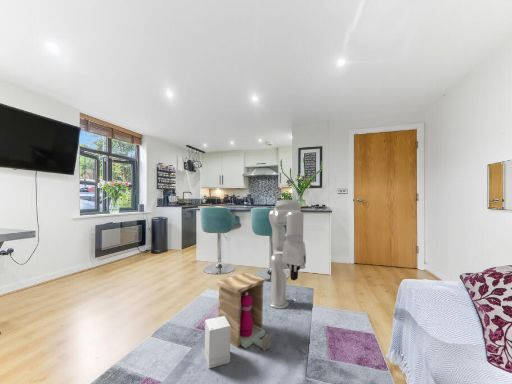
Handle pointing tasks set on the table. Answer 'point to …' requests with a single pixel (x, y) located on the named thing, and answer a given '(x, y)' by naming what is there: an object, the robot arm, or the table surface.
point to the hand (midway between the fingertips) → (294, 279)
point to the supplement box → (217, 341)
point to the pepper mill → (246, 316)
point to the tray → (256, 339)
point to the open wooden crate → (231, 302)
